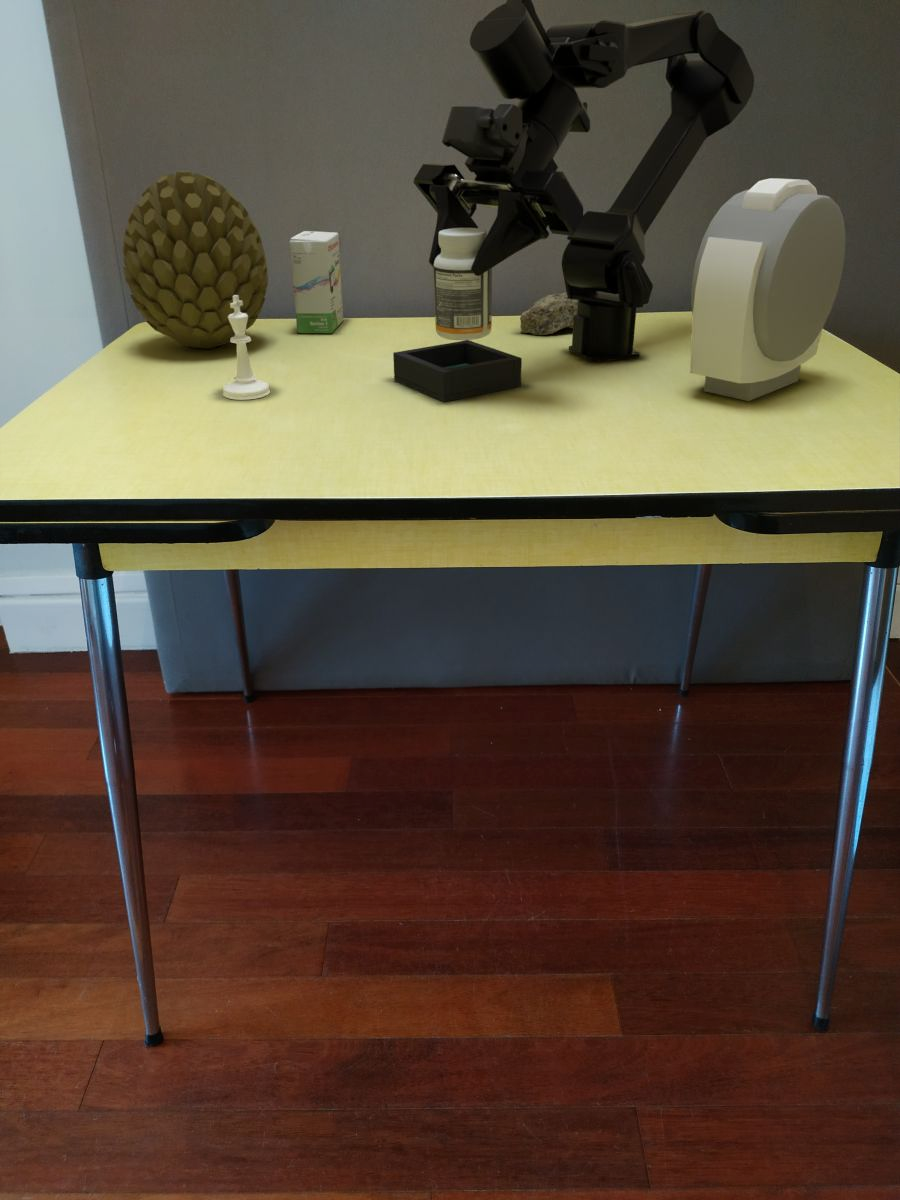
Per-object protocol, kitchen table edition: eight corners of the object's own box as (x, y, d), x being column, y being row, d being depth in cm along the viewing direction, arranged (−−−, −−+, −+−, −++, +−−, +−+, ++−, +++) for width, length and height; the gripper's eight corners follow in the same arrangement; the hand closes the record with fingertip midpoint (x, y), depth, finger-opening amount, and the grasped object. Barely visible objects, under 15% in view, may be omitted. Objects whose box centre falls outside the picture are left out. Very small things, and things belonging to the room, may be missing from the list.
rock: (570, 338, 117) (572, 302, 115) (513, 333, 120) (514, 297, 118) (586, 327, 123) (588, 292, 121) (531, 322, 126) (532, 288, 123)
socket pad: (468, 366, 105) (468, 339, 104) (521, 386, 98) (522, 357, 97) (393, 380, 100) (392, 352, 99) (443, 402, 93) (443, 372, 92)
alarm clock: (758, 363, 106) (788, 172, 96) (828, 377, 100) (868, 176, 91) (671, 395, 95) (695, 182, 85) (744, 412, 89) (779, 187, 80)
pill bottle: (453, 326, 96) (452, 225, 91) (501, 331, 94) (502, 228, 89) (425, 338, 92) (421, 233, 87) (474, 344, 89) (473, 236, 84)
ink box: (332, 334, 120) (326, 239, 114) (296, 333, 121) (287, 239, 115) (344, 320, 128) (339, 230, 122) (310, 319, 128) (303, 230, 122)
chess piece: (278, 388, 98) (269, 292, 93) (255, 401, 94) (244, 301, 89) (238, 384, 99) (227, 289, 94) (214, 397, 95) (200, 298, 90)
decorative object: (287, 354, 111) (271, 174, 101) (144, 368, 106) (112, 179, 96) (260, 326, 125) (243, 165, 115) (132, 337, 119) (103, 169, 109)
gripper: (424, 72, 89) (343, 204, 88) (569, 68, 78) (478, 220, 77) (481, 156, 98) (408, 277, 97) (620, 163, 86) (538, 302, 85)
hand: (452, 269), depth 89 cm, fingers closed on pill bottle, 6 cm apart
